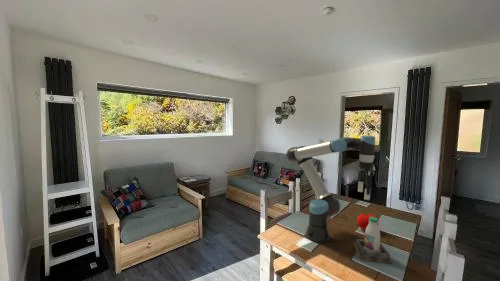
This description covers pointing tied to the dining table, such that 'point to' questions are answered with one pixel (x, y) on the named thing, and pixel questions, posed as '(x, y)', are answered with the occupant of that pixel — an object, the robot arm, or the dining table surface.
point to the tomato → (364, 220)
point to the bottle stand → (372, 253)
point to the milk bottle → (372, 236)
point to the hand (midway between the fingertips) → (363, 195)
